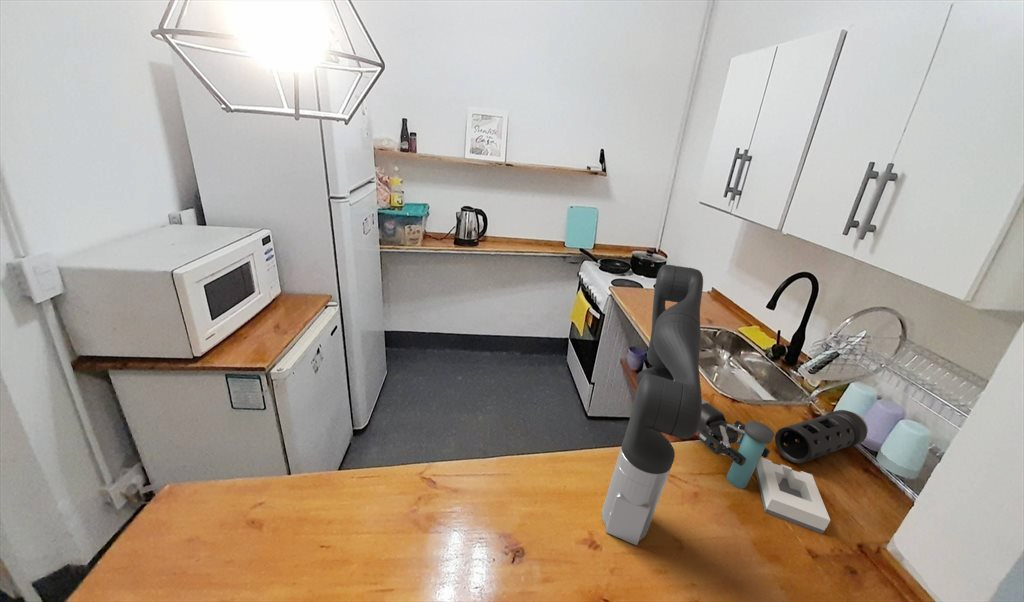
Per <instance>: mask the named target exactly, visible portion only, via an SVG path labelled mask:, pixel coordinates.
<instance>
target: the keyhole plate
mask: <svg viewBox="0 0 1024 602" xmlns="http://www.w3.org/2000/svg"><path fill="white" fill-rule="evenodd" d="M754 472H755V474H756V476H755V477H756V478H757V483H758V488H759V493H760V496H761V502H762V505H763V510H764V513H765V514H769V515H771V516H773V517H775V518H776V517H777V518H778V519H782V520H785V521H787V522H789V523H792V524H795V525H797V526H800V527H802V528H805V529H808V530H812V531H814V532H817V533H819V534H821V535H822V534H824V532H825V530H826V529H827V527H828V526H829V524H830V522H831V518H830V516H829V513H828V511H827V508H826V506H825V503H824V501H823V498H822V496H821V493H820V491H819V488H818V486H817V483H816V481H815V479H814V475H813V474H812V473H808V472H805V471H802V470H800V471H798V470H793V468H792V467H791V466H788V465H785V464H783V463H781V464H780V465H779V464H777V463H773V461H772V460H770V459H767V458H764V457H762V456H761V457H760V459H759V461H758V463H757V466H756V468H755V470H754Z"/></svg>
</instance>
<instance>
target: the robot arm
mask: <svg viewBox="0 0 1024 602" xmlns="http://www.w3.org/2000/svg"><path fill="white" fill-rule="evenodd" d="M703 289H704V275H703V273H702V271H700V270H699V269H696V268H693V267H688V266H687V267H686V266H680V265H679V266H678V265H674V264H673V265H672V264H663V265H661V267H660V268H659V269H658V272H657V275H656V279H655V284H654V291H653V292H654V293H653V302H652V316H651V317H652V318H651V331H650V333H651V334H650V339H649V344H648V348H647V355H646V359H647V362H648V364H649V365H651V367H649V368H646V369H643V370H641V371H639V372H638V373H637V375H636V384H637V388H636V390H635V395H634V397H633V398H634V400H633V403H632V408H631V413H630V417H629V420H628V424H627V428H626V430H625V434H624V436H623V437H624V438H623V440H622V444H621V447H620V449H619V453H618V457H617V460H616V463H615V466H614V471H613V474H612V476H611V480H610V482H609V486H608V490H607V493H606V496H605V500H604V503H603V507H602V510H601V518H602V522H603V524H604V525H605V533H607V534H609V535H612V536H613V537H616V538H618V539H621V540H623V541H625V542H627V543H629V544H632V545H634V546H638V545H639V542H640V541H641V540H643V539H644V538H645V537H646V536H647V534H648V531H649V529H650V526H651V524H652V521H653V517H654V514H655V512H656V510H657V507H658V504H659V501H660V498H661V496H662V493H663V490H664V488H665V484H666V482H667V480H668V478H669V475H670V472H671V469H672V467H673V463H674V461H675V456H676V454H675V453H676V452H675V449H674V447H673V445H672V444H671V442H670V441H669V440H668V439H667V437H666V436H665V435H669V436H671V437H674V438H679V439H683V440H686V439H690V438H692V437H694V436H695V435H696V434H697V432H698V433H699V435H698V439H699V440H700V441H699V442H702V444H703V445H705V447H707V448H708V449H709V450H710V451H712V453H714V454H715V455H717V456H720V454H721V455H722V456H723V455H724V456H727V457H728V458H729V459H731V461H732V462H733V461H734V462H735V463H737V464H738V465H740V466H742V465H744V464H745V461H746V458H745V457H744V456H743V455H741V454H740V453H739V452H738V450H737V449H735V448H734V447H733V446H731V445H730V444H737V445H739V446H740V445H741V443H742V440H743V438H744V436H745V434H746V433H745V431H744V428H745V426H746V424H744V423H743V422H741V421H739V420H735V422H734V423H730V422H728V421H727V420H726V417H725V415H724V413H723V412H722V411H721V410H719V409H718V408H716V407H715V406H714V405H712V404H711V403H710V402H709V401H707V400H705V399H704V398H702V387H701V379H700V378H701V377H700V350H701V349H700V348H701V304H702V295H703V291H704V290H703ZM666 301H667V302H672V303H675V304H672V305H671V306H669V307H667V308H666ZM661 433H662V434H661ZM663 434H665V435H663ZM739 435H740V436H739ZM770 453H771V450H770V449H769V448H768V447H767V446H766V447H765V449H764V451H763V453H762V455H761V457H762V458H765V459H767V458H768V457H769V455H770Z"/></svg>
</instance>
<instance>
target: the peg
mask: <svg viewBox="0 0 1024 602" xmlns="http://www.w3.org/2000/svg"><path fill="white" fill-rule="evenodd" d="M745 425H746V426H745V428H744V431H745V433H746V434H745V436H744V438H743V440H742V443H741V445H740V444H739V448H738V449H737V451H738V452H739V453H740V454H741V455H743V456H744V457H745V458H746V461H745V464H744V465H742V466H740V465H738V464H737V463H735V462H734V461H733V460H732V463H731V466H730V468H729V470H728V472H727V474H726V480H727V481H728V483H730V485H732V486H733V487H736V488H737V489H741V488H742V489H746V488H747V487H748V484H749V482H750V480H751V478H752V477H753V476H752V475H753V473H754V472H755V469H756V467H757V465H758V462H759V460H760V458H761V457H762V456H761V455H762V453H763V451H764V449H765V447H766V448H767V445H768V444H771V443H772V441H773V439H775V432H774V431H773V430H772V428H771V427H769V426H768V425H766V424H764V423H762V422H760V421H754V420H749V421H747V422H746V423H745Z"/></svg>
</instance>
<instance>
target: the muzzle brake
mask: <svg viewBox="0 0 1024 602" xmlns="http://www.w3.org/2000/svg"><path fill="white" fill-rule="evenodd" d="M868 430H869V429H868V425H867V422H866V421H865V419H864V418H863V417H862V416H861V415H860V414H858V413H856V412H854V411H850V410H845V409H839V410H838V409H837V410H833V411H831V412H828V413H826V414H823V415H821V416H818V417H814V418H811V419H808V420H804V421H801V422H797V423H794V424H791V425H787V426H783V427H782V428H780V429H778V430H777V432H776V433H775V434H774V443H775V446H776V449H777V450H778V452H779V454H781V456H782V457H783V460H785V461H786V462H788V463H789V462H791V463H793V464H801V465H802V464H804V463H807V462H809V461H810V462H811V461H813V460H816V459H818V458H821V457H823V456H826V455H830V454H831V453H834V452H837V451H839V450H843V449H845V448H849V447H853V446H857V445H859V444H861V443H863V442H864V441H865V440H866V438H867V436H868Z"/></svg>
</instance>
